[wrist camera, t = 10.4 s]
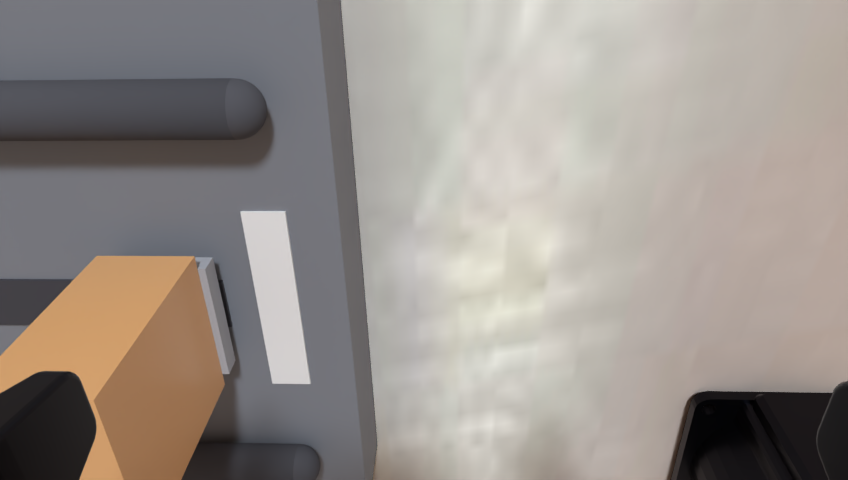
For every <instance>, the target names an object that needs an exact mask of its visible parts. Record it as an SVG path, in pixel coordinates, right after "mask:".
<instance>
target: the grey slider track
mask: <svg viewBox="0 0 848 480" xmlns="http://www.w3.org/2000/svg"><path fill="white" fill-rule="evenodd" d="M266 118H267V105H266V101H265V98H264V96H263V94H262V93H261V92H260V90H259V89H258V88H257V87H256V86H254V85H253V84H252V83H250V82H248V81H246V80H243V79H236V78H199V79H100V80H1V81H0V141H132V140H242V139H246V138H250V137H252V136H253V135H255V134H256V133H257V132H258V131H260V130H261V128H262V127H263V125H264V123H265V120H266ZM319 471H320V459H319V456H318V454H317V453H316V451H315V450H314V449H313V448H311V447H310V446H308V445H305V444H279V443H225V442H198V444H197V446H196V448H195V451H194V453H193V455H192V457H191V459H190V462H189V464H188V466H187V468H186V470H185V472H184V475H183V477H182V479H181V480H316V478H317V477H318V475H319Z"/></svg>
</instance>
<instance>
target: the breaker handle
mask: <svg viewBox="0 0 848 480" xmlns="http://www.w3.org/2000/svg"><path fill="white" fill-rule="evenodd" d="M235 361H236V360H235V356H234V351H233V347H232V342H231V338H230V333H229V328H228V324H227V319H226V315H225V310H224V306H223V301H222V297H221V292H220V288H219V283H218V279H217V274H216V270H215V265H214V261H213V257H195V256H96V257H95V258H94V259H93V260H92V261H91V262H90V263H89V264H88V265H87V266H86V267H85V268H84V270H83V271H82V272H81V273H80V274H79V275H78V276H77V277H76V278H75V279H74V280H73V281H72V282H71V283H70V284H69V285H68V286H67V287H66V288H65V289H64V290H63V291H62V292H61V293H60V294H59V295H58V296H57V298H56V299H55V300H54V301H53V302H52V303H51V304H50V305H49V306H48V307H47V308H46V309H45V310H44V311H43V312H42V313H41V314H40V315H39V316H38V317H37V318H36V319H35V320H34V321H33V322H32V323H31V325H30V326H29V327H28V328H27V329H26V330H25V331H24V332H23V333H22V334H21V335H20V336H19V337H18V338H17V339H16V340H15V341H14V342H13V343H12V344H11V345H10V346H9V347H8V348H7V349H6V350H5V352H4V353H3V354H2V355H1V356H0V393H2V392H3V391H5V390H7V389H9V388H10V387H12V386H14V385H16V384H17V383H19V382H21V381H22V380H24V379H26V378H28V377H29V376H31V375H33V374H35V373H37V372H41V371H70V372H73V373H75V374H76V375H77V376H78V377H79V378H80V380H81V382H82V385H83V387H84V390H85V392H86V395H87V397H88V400H89V403H90V405H91V408H92V410H93V413H94V415H95V419H96V425H97V429H96V436H95V440H94V443H93V446H92V448H91V451H90V453H89V456H88V458H87V461H86V464H85V466H84V469H83V471H82V474H81V477H80V479H79V480H181V479H182V477H183V475H184V472H185V470H186V468H187V466H188V464H189V462H190V459H191V457H192V455H193V453H194V451H195V448H196V446H197V444H198V442H199V440H200V438H201V435H202V433H203V431H204V429H205V427H206V425H207V422H208V420H209V418H210V416H211V414H212V411H213V409H214V407H215V405H216V403H217V401H218V398H219V396H220V394H221V392H222V390H223V388H224V385H225V382H224V378H223V374H230V371H231V369H232V367H233V365H234V363H235Z"/></svg>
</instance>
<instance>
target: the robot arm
mask: <svg viewBox="0 0 848 480" xmlns="http://www.w3.org/2000/svg"><path fill="white" fill-rule="evenodd" d="M709 404H710V405H709ZM705 405H708V406H705ZM704 406H705V407H704ZM96 429H97V425H96V419H95V415H94V413H93V410H92V408H91V405H90V403H89V400H88V397H87V395H86V392H85V390H84V387H83V385H82V382H81V380H80V378H79V377H78V376H77V375H76V374H75V373H73V372H70V371H41V372H37V373H35V374H33V375H31V376H29V377H28V378H26V379H24V380H22V381H21V382H19V383H17V384H16V385H14V386H12V387H10V388H9V389H7V390H5V391H3V392H2V393H0V480H79V479H80V477H81V474H82V471H83V469H84V466H85V464H86V461H87V458H88V456H89V453H90V451H91V448H92V446H93V443H94V440H95V436H96ZM671 480H848V381H847V382H843V383H840V384H839V385H838V386H837V387H836V388H835V389H834V391H833V393H792V392H720V391H706V392H701V393H699V394H697V395H695V396H694V397H693V399H692V401H691V404H690V407H689V411H688V415H687V419H686V423H685V427H684V431H683V435H682V439H681V442H680V446H679V450H678V454H677V458H676V462H675V466H674V470H673V474H672V478H671Z"/></svg>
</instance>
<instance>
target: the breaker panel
mask: <svg viewBox="0 0 848 480" xmlns="http://www.w3.org/2000/svg"><path fill="white" fill-rule="evenodd" d="M199 78H236V79H243V80H246V81H248V82H250V83H252V84H253V85H254V86H256V87H257V88H258V89H259V90H260V92H261V93H262V94H263V96H264V98H265V101H266V105H267V118H266V120H265V123H264V125H263V127H262V128H261V130H260V131H258V132H257V133H256V134H255V135H253V136H252V137H250V138H246V139H242V140H132V141H0V356H1V355H2V354H3V353H4V352H5V350H6V349H7V348H8V347H9V346H10V345H11V344H12V343H13V342H14V341H15V340H16V339H17V338H18V337H19V336H20V335H21V334H22V333H23V332H24V331H25V330H26V329H27V328H28V327H29V326H30V325H31V323H32V322H33V321H34V320H35V319H36V318H37V317H38V316H39V315H40V314H41V313H42V312H43V311H44V310H45V309H46V308H47V307H48V306H49V305H50V304H51V303H52V302H53V301H54V300H55V299H56V298H57V296H58V295H59V294H60V293H61V292H62V291H63V290H64V289H65V288H66V287H67V286H68V285H69V284H70V283H71V282H72V281H73V280H74V279H75V278H76V277H77V276H78V275H79V274H80V273H81V272H82V271H83V270H84V268H85V267H86V266H87V265H88V264H89V263H90V262H91V261H92V260H93V259H94V258H95V257H96V256H195V257H213V261H214V265H215V270H216V274H217V279H218V283H219V288H220V292H221V297H222V301H223V306H224V310H225V315H226V319H227V324H228V328H229V333H230V338H231V342H232V347H233V351H234V356H235V360H236V361H235V363H234V365H233V367H232V369H231V371H230V374H223V378H224V382H225V385H224V388H223V390H222V392H221V394H220V396H219V398H218V401H217V403H216V405H215V407H214V409H213V411H212V414H211V416H210V418H209V420H208V422H207V425H206V427H205V429H204V431H203V433H202V435H201V438H200V440H199V442H225V443H279V444H305V445H308V446H310V447H311V448H313V449H314V450H315V451H316V453H317V454H318V456H319V459H320V471H319V475H318V477H317V478H316V480H372V479H373V471H374V464H375V457H376V450H377V435H376V423H375V411H374V399H373V387H372V375H371V363H370V350H369V338H368V326H367V314H366V302H365V290H364V278H363V266H362V254H361V242H360V230H359V218H358V206H357V194H356V182H355V170H354V158H353V146H352V134H351V122H350V109H349V97H348V85H347V73H346V61H345V49H344V37H343V25H342V13H341V1H340V0H0V81H1V80H100V79H199Z"/></svg>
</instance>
